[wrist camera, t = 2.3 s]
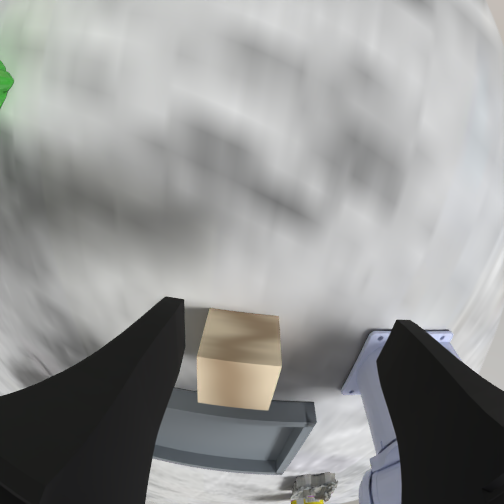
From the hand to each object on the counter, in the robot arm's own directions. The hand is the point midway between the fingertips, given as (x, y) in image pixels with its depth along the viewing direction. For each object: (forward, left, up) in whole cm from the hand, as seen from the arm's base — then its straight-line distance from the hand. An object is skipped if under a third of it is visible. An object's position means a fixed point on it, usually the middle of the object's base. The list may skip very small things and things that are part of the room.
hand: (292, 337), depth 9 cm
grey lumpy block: (-15, +45, -10) cm, 48 cm away
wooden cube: (+1, +9, -10) cm, 13 cm away
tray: (+3, +25, -9) cm, 27 cm away
